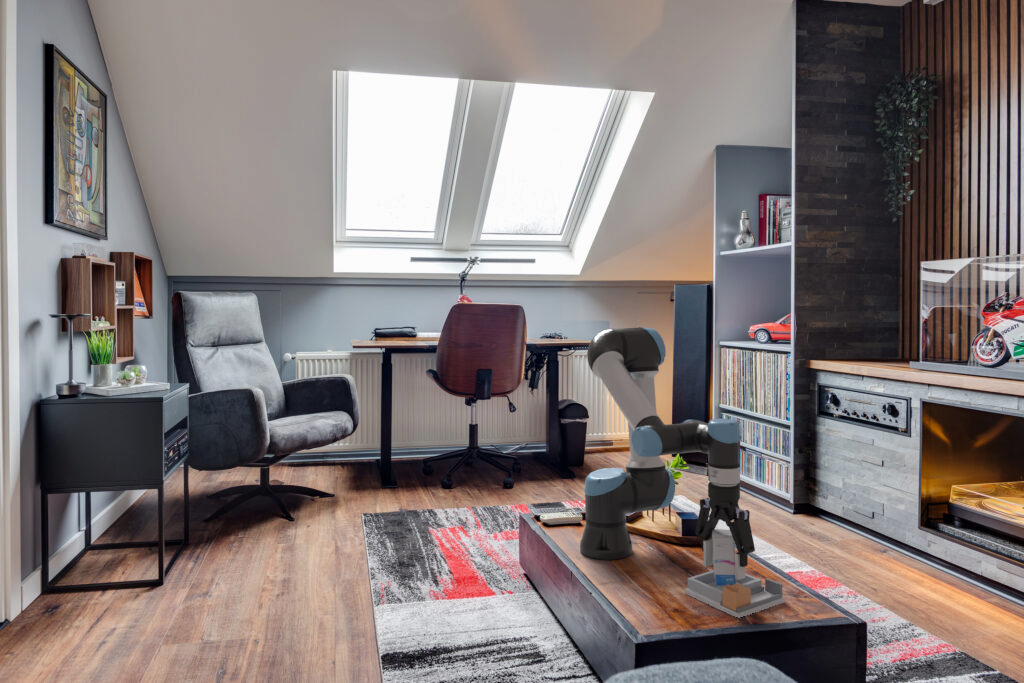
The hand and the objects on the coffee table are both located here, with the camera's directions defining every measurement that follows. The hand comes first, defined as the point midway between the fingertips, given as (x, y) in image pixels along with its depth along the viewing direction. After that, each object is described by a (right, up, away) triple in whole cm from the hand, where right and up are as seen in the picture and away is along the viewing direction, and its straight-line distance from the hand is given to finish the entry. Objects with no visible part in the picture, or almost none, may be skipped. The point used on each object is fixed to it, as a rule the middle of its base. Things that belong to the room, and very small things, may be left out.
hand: (723, 571), depth 178 cm
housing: (+2, -6, -2) cm, 6 cm away
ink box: (0, -2, 0) cm, 2 cm away
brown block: (0, -5, -10) cm, 11 cm away
